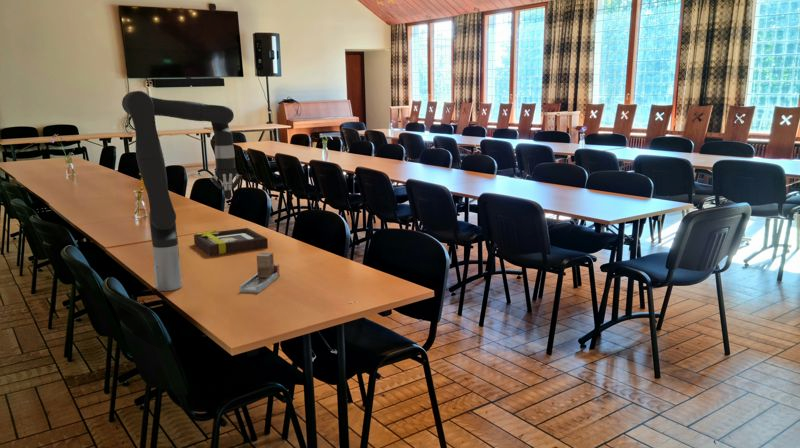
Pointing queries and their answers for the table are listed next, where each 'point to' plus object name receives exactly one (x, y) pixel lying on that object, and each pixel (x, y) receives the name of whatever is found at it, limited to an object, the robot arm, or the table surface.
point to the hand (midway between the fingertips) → (227, 199)
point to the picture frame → (229, 241)
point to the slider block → (265, 264)
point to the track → (259, 282)
